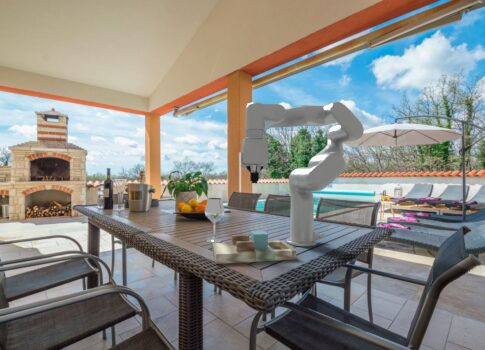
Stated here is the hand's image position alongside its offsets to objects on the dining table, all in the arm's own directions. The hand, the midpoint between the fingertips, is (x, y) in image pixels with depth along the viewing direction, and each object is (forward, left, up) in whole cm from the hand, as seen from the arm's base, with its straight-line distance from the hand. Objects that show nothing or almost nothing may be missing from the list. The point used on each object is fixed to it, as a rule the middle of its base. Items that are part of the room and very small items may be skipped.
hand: (254, 183), depth 95 cm
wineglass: (+14, -12, -25) cm, 31 cm away
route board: (+2, +9, -25) cm, 27 cm away
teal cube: (0, +9, -22) cm, 24 cm away
